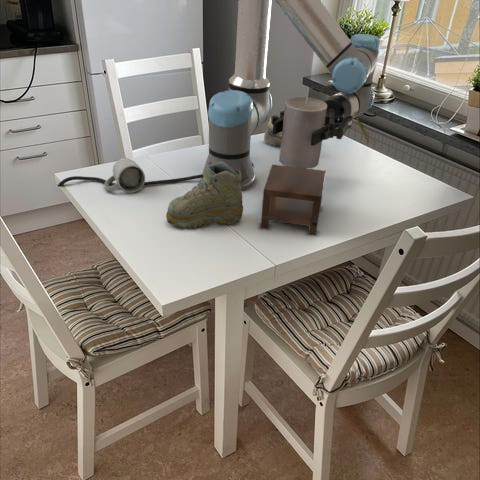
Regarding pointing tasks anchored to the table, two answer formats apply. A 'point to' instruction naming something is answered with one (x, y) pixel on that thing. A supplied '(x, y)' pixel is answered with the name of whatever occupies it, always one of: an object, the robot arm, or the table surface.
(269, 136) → the hiking shoe
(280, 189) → the shelf rack
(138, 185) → the ceramic mug
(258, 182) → the table surface
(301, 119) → the pillar candle
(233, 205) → the sneaker
